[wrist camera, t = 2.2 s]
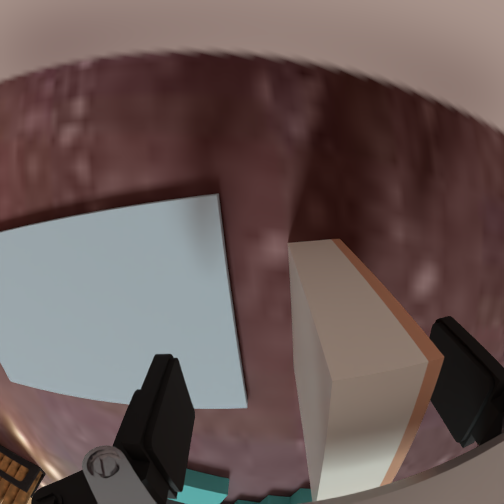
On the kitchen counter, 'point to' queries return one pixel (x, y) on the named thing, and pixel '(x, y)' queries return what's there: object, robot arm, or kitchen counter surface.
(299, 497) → the alien figure
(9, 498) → the ammunition clip
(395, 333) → the tile
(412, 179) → the kitchen counter surface
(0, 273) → the mat
